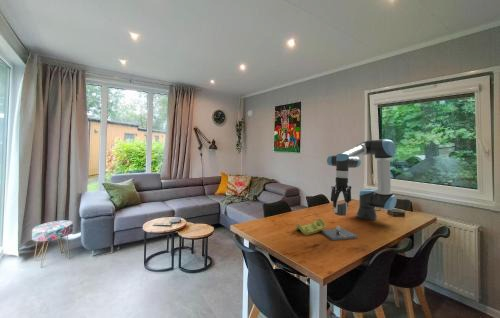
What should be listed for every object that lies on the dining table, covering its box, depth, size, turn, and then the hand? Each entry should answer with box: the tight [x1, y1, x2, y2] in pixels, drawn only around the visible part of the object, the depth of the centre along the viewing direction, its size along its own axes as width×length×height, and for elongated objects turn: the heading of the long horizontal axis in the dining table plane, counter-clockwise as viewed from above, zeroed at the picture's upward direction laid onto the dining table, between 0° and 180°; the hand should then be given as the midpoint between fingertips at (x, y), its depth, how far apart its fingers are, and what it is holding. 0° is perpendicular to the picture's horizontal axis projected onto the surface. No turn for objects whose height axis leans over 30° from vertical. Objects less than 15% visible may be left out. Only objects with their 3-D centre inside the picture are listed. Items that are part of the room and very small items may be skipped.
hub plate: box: [319, 225, 358, 242], centre depth 149 cm, size 18×15×6 cm
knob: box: [334, 202, 347, 217], centre depth 149 cm, size 7×7×7 cm
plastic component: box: [295, 217, 327, 236], centre depth 157 cm, size 20×7×10 cm
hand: (340, 211), depth 149 cm, fingers closed on knob, 7 cm apart
